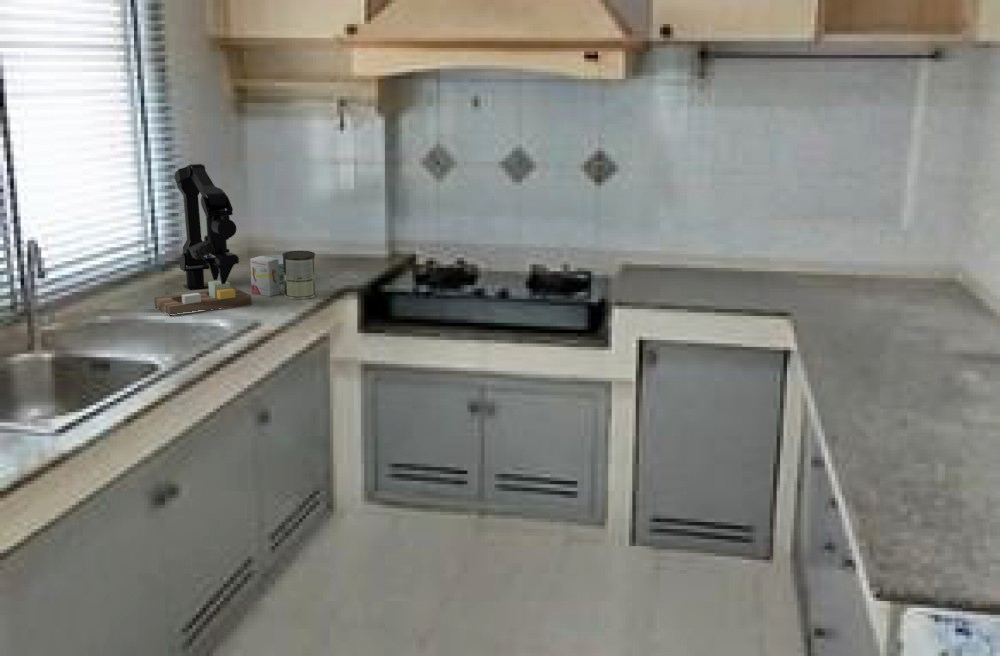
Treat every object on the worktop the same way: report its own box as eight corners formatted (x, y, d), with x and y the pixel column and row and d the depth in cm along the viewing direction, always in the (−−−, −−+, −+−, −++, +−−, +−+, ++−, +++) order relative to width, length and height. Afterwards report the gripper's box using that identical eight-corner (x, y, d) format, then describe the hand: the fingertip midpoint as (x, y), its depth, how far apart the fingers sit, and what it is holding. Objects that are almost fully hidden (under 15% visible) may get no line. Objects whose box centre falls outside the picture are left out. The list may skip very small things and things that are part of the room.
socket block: (154, 307, 305) (153, 290, 304) (234, 296, 320) (234, 280, 319) (169, 316, 295) (168, 298, 294) (251, 304, 311) (250, 288, 309)
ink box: (250, 292, 325) (249, 257, 322) (261, 290, 329) (260, 255, 326) (269, 296, 321) (268, 261, 318) (280, 293, 325) (279, 258, 322)
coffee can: (277, 295, 323) (276, 253, 319) (304, 290, 330) (303, 249, 326) (295, 301, 316) (294, 258, 312) (322, 296, 323) (321, 254, 319)
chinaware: (244, 279, 343) (243, 258, 341) (284, 274, 352) (283, 253, 350) (262, 288, 332) (261, 266, 330) (303, 283, 340) (302, 261, 338)
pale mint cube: (209, 303, 312) (208, 281, 310) (224, 301, 315) (223, 279, 313) (215, 306, 308) (214, 284, 306) (231, 304, 311) (229, 282, 309)
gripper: (180, 230, 307) (183, 279, 312) (202, 240, 293) (205, 291, 297) (214, 227, 314) (217, 275, 318) (238, 236, 300) (240, 286, 304)
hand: (219, 281), depth 309 cm, fingers open, 6 cm apart
